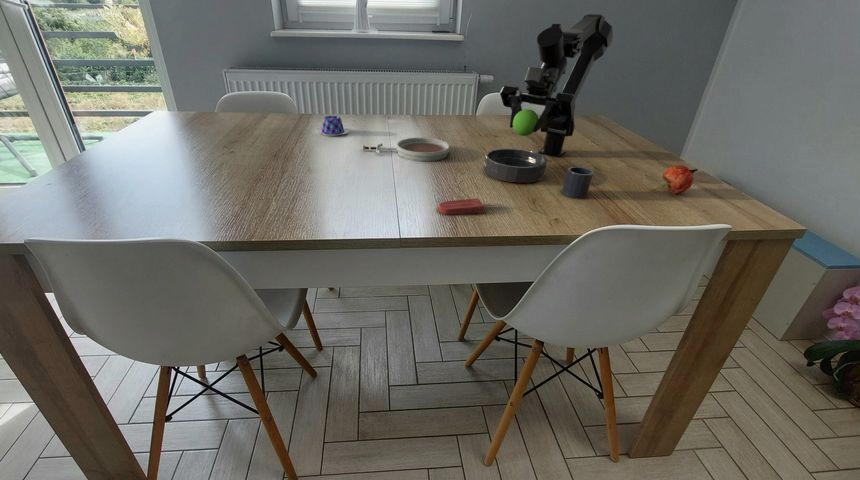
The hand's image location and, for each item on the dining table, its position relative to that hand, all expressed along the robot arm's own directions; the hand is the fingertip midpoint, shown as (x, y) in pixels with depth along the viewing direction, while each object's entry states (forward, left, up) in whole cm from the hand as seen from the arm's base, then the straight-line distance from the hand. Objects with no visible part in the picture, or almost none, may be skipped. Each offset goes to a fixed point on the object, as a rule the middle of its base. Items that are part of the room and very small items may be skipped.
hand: (522, 129), depth 105 cm
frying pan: (+2, -35, -13) cm, 37 cm away
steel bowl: (-2, -1, -13) cm, 13 cm away
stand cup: (+2, +17, -13) cm, 21 cm away
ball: (-1, 0, +1) cm, 2 cm away
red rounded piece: (-15, +36, -13) cm, 41 cm away
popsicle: (+27, +1, -13) cm, 30 cm away
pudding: (0, -68, -13) cm, 69 cm away
